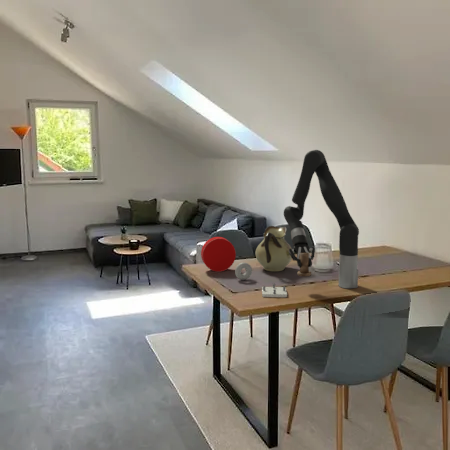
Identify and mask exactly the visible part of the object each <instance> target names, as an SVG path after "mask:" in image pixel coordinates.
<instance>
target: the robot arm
mask: <svg viewBox="0 0 450 450" xmlns="http://www.w3.org/2000/svg"><path fill="white" fill-rule="evenodd" d="M314 175H316V177H317V181H318V184H319V190H320V193H321V196H322V198H323V200H324V202H325V204H326V206H327V207H328V209H329V211H330V212H331V213H332V214H333V216H334V217H335V219H336V221H337V224H338V227H339V240H338V241H339V243H338V245H339V246H338V248H339V256H338V257H339V259H338V261H339V263H338V287H339V288H342V289H357V288H359V287H358V283H359V269H358V260H359V259H358V256H359V247H358V246H359V234H360V230H359V227H358V225H357V224H356V222H355V220H354V219H353V217H352V215H351V214H350V212H349V209H348V207H347V204H346V202H345V198H344V196H343V194H342V191H341V190H340V188H339V186H338V183H337V182H336V180H335V178H334V176H333V175H332V172H331V170H330V167H329V164H328V162H327V159H326V156H325V154H324V152H323V151H321V150H319V149H313V150H310V151H308V152H307V153H306V154H305V155H304V159H303V162H302V169H301V172H300V175H299V178H298V182H297V184H296V187H295V190H294V193H293V195H292V198H291V201H292V203H293V204H295V205H297V206H291V205H289V206H286V207H285V208H284V210H283V218H284V219H285V221H286V223H287V225H288V227H289V230H290V237H291V242H292V247H293V248H292V249H289V254H290V256H291V258H292V261H294V262H296V263H297V266H298V268H299V269H300V267H301V266H302V265H301V261H300V253H302V252H307V253H309V268H311V267H312V265H313V262H312V260H314V258H315V254H316V247H310V246H309V243H308V238H307V234H306V232H305V227H304V225H303V222H302V221H301V220H302V218H303V217H304V214H305V213H304V212H305V211H304V210H305V203H306V200H307V198H308V195H309V192H310V187H311V182H312V178H313V177H314ZM310 253H311V255H310ZM295 254H296V255H295Z"/></svg>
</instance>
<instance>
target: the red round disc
mask: <svg viewBox="0 0 450 450" xmlns="http://www.w3.org/2000/svg"><path fill="white" fill-rule="evenodd" d="M236 253H237V252H236V249H235V247H234V245H233V244H232V242H231V241H230V240H228V239H227V238H225V237H222V236H214V237H213V236H212V237H211V238H209V239H208V240H206V241H205V242H204V244H203V245H202V247H201V251H200V256H201V260H202V262H203V263H204V265H205V266H206V268H207V269H209V270H211V271H213V272H217V273H218V272H223V271H226V270H228V269H230V268H231V267H232V266H233V264H234V262H235V260H236V256H237V254H236Z"/></svg>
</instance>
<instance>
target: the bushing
mask: <svg viewBox="0 0 450 450" xmlns="http://www.w3.org/2000/svg"><path fill="white" fill-rule="evenodd" d="M309 255H310V252H309V253H307V252H302V253H300V261H301V265H302V266H301V267H300V268H299V270H298V271H297V274H296V275H297V276H298V277H310V276H312V271H310V267H309Z"/></svg>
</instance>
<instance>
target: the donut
mask: <svg viewBox="0 0 450 450" xmlns="http://www.w3.org/2000/svg"><path fill="white" fill-rule="evenodd" d="M244 269H245V272H244V273H242V270H244ZM252 271H253V268H252V266H251V265H250V264H249V263H248V262H240V263H238V264H237V265H236V267H235V271H234V273H235V274H234V275H235V277H236V278H237V279H239V280H240V281H245V280H247V279H249V278H250V277H251V275H252V274H253V273H252Z"/></svg>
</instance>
